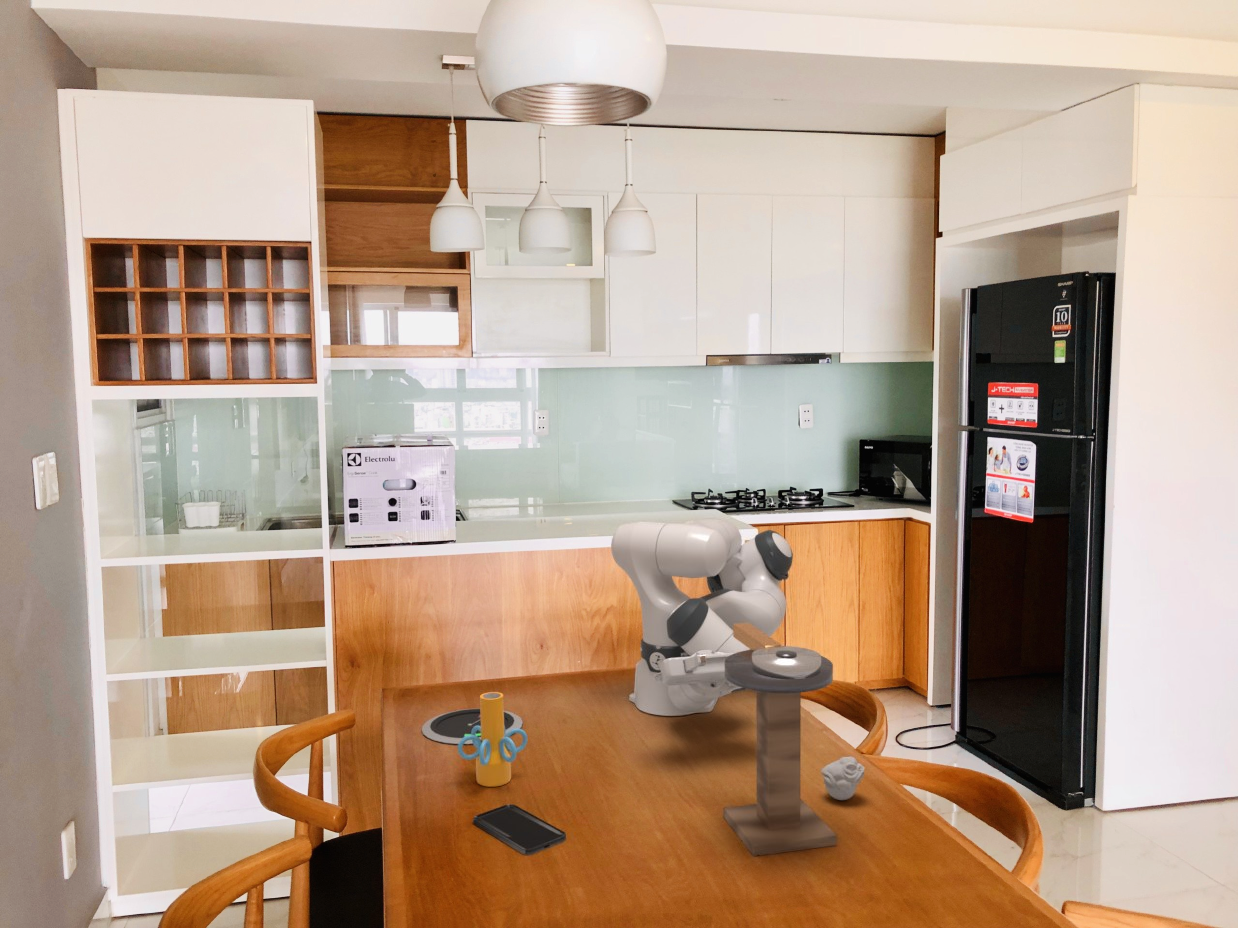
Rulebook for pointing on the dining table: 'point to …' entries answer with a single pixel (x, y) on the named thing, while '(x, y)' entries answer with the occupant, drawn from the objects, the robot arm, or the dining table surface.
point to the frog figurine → (843, 777)
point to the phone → (519, 829)
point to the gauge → (462, 726)
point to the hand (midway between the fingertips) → (727, 656)
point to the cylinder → (492, 743)
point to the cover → (777, 655)
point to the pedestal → (777, 764)
